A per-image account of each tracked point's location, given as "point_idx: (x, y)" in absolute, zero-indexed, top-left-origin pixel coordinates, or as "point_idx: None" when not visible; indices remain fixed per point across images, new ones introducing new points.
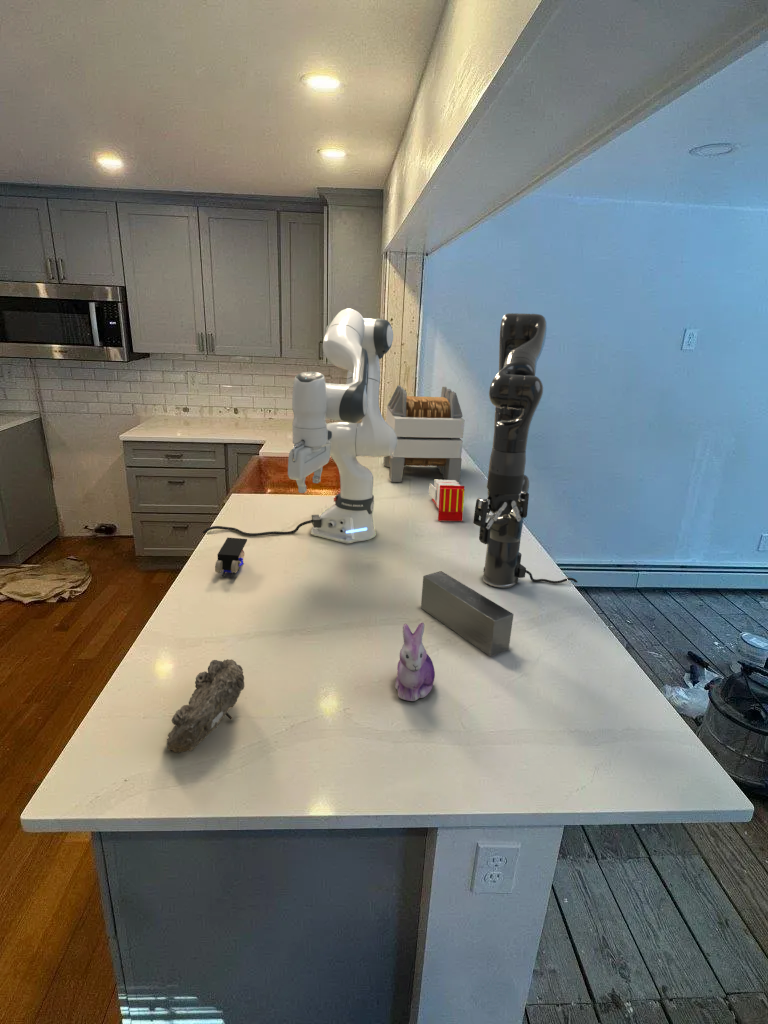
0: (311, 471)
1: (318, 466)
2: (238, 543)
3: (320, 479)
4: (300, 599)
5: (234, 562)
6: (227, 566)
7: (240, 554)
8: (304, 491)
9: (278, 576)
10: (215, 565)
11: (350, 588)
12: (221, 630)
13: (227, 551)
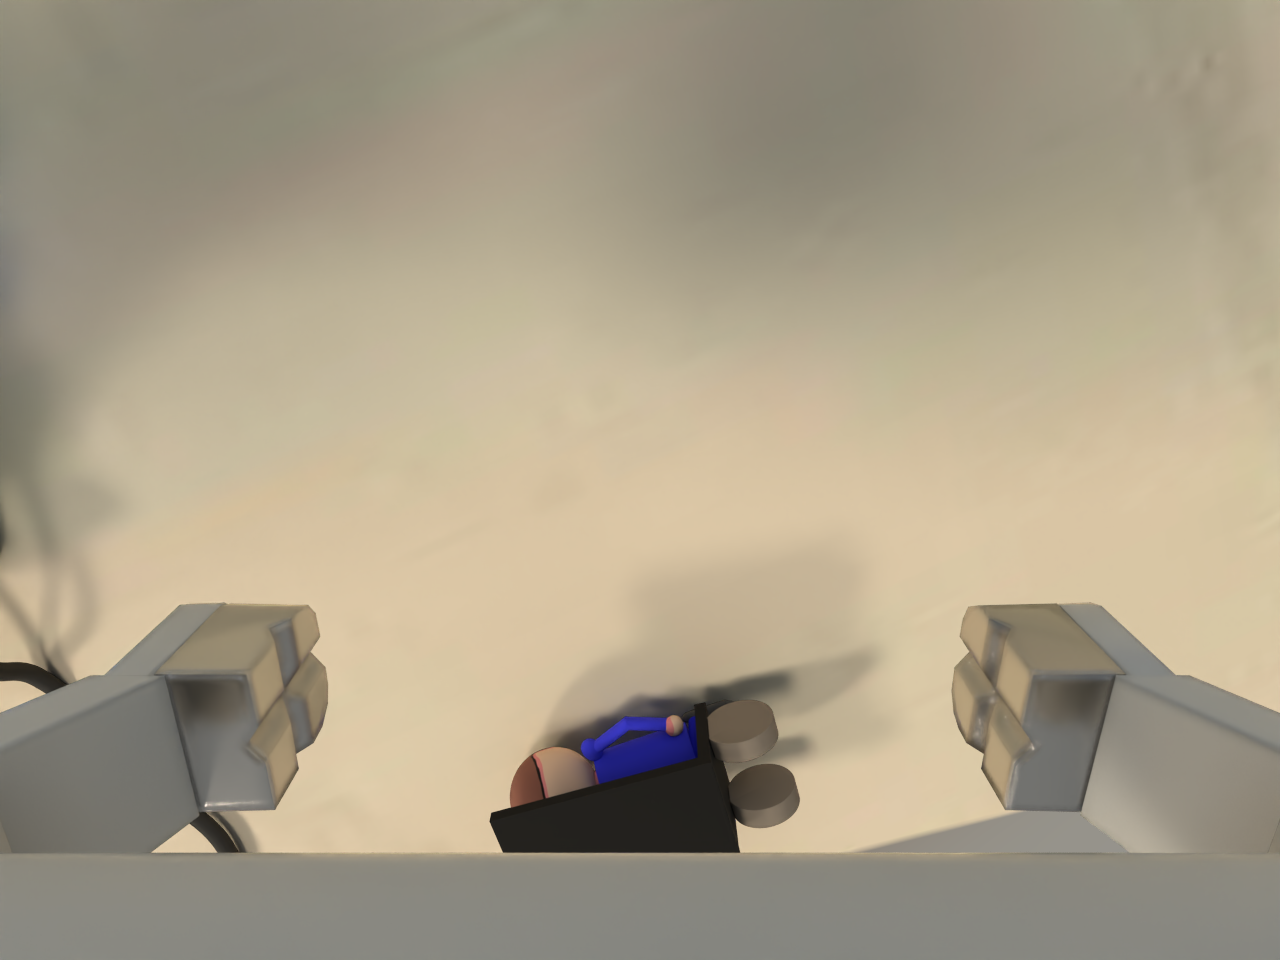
0: (1216, 924)
1: (328, 950)
2: (569, 831)
3: (162, 625)
4: (854, 271)
5: (756, 745)
6: (721, 763)
7: (570, 773)
8: (1110, 615)
9: (627, 506)
10: (795, 809)
11: (614, 6)
12: (1242, 503)
13: (689, 831)
